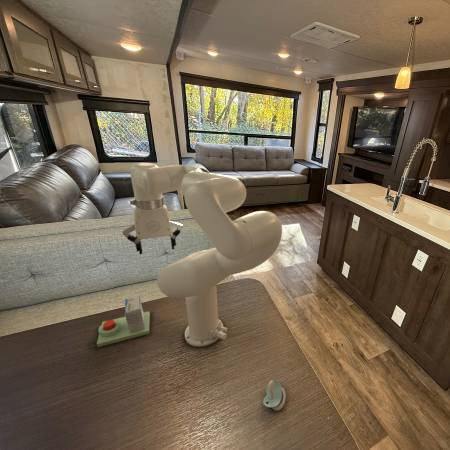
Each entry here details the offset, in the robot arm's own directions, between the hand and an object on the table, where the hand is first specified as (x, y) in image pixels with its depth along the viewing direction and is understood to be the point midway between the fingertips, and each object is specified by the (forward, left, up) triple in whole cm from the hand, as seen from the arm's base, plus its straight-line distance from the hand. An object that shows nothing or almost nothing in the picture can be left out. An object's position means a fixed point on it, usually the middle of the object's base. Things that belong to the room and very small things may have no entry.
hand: (157, 250), depth 85 cm
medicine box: (+2, +10, -25) cm, 27 cm away
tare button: (+8, +16, -23) cm, 29 cm away
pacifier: (-52, +16, -26) cm, 60 cm away
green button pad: (+5, +13, -26) cm, 29 cm away
